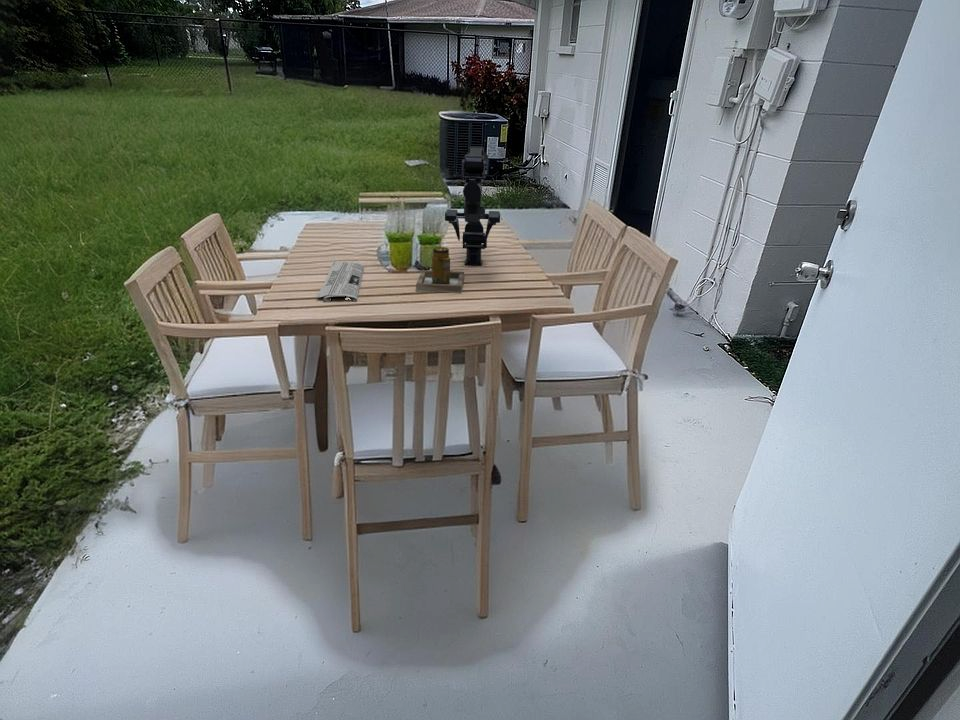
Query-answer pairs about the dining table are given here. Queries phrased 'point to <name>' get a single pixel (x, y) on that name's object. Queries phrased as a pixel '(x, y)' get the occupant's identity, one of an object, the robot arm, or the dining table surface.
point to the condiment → (440, 266)
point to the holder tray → (427, 287)
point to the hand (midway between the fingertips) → (472, 240)
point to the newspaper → (342, 280)
